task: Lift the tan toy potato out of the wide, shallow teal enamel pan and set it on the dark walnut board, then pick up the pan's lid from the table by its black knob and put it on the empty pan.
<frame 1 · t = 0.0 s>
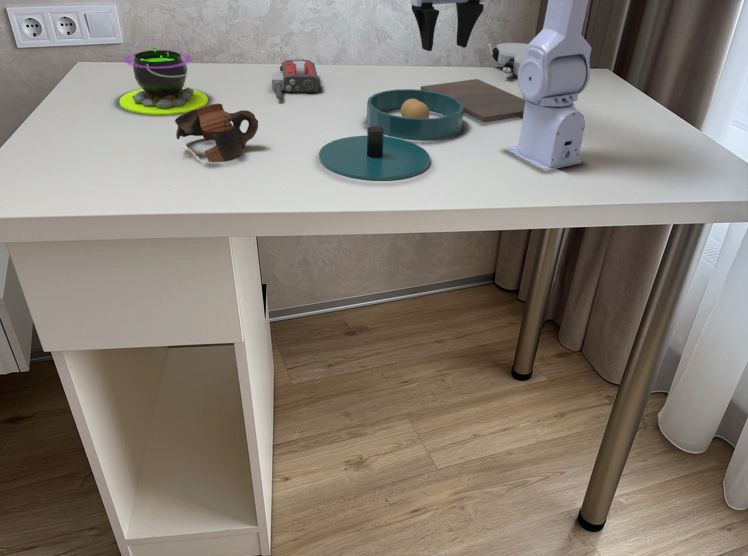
hand: (444, 47, 124), 10 cm above the table, tool pointing down, fingers open, 7 cm apart
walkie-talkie: (295, 90, 133), on the table
toy cauldron: (164, 102, 123), on the table
lid: (374, 158, 105), point 1 cm above the table
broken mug: (220, 154, 105), on the table
potato: (414, 124, 119), resting on pan
pan: (414, 126, 120), on the table
board: (479, 103, 132), on the table
robot toy: (519, 73, 152), on the table
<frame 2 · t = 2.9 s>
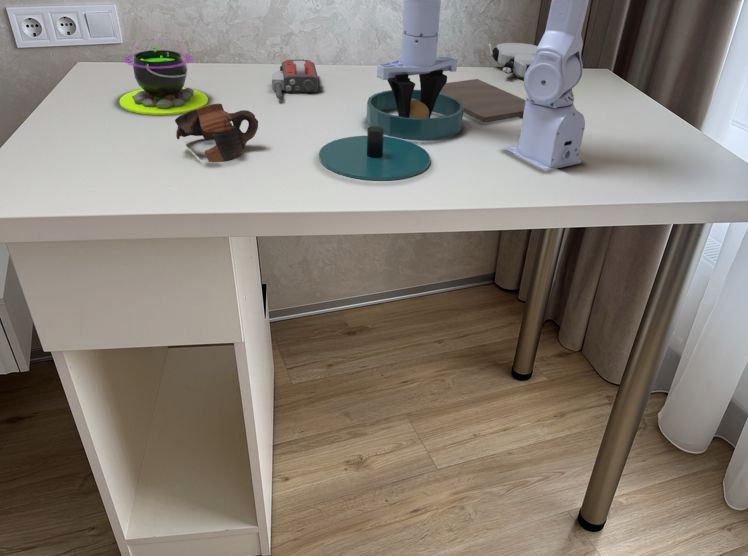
hand: (414, 118, 119), 1 cm above the table, tool pointing down, fingers closed on potato, 4 cm apart
potato: (414, 124, 119), resting on pan, touching gripper
everything else where it was.
when the fingers open (2 cm above the table, at t = 7.6 s): potato stays where it is, resting on board.
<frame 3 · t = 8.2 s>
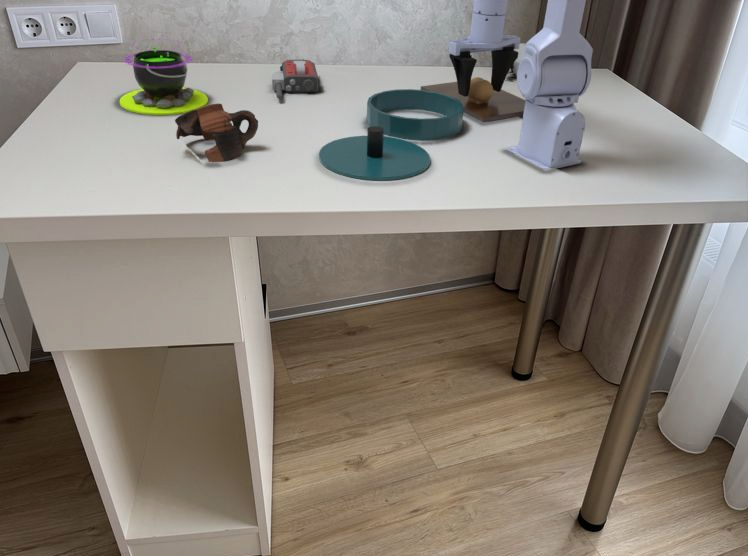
hand: (479, 92, 128), 3 cm above the table, tool pointing down, fingers open, 7 cm apart
potato: (478, 100, 129), point 1 cm above the table, touching board
everything else where it was.
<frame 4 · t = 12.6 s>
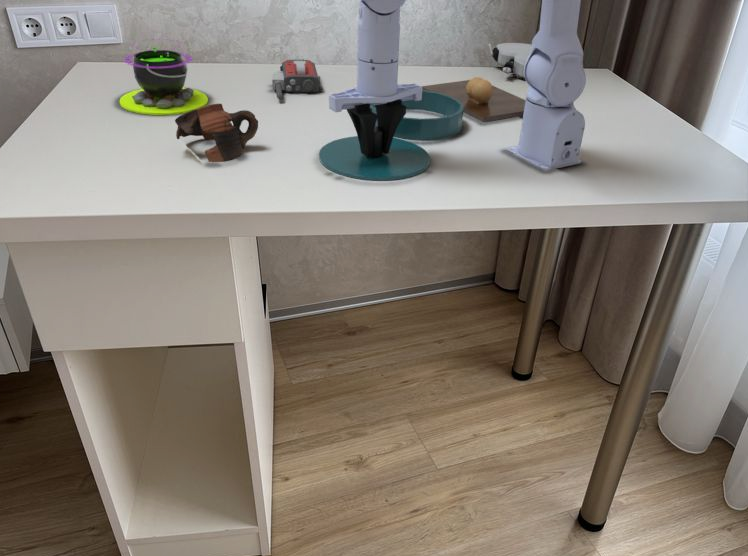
hand: (374, 153, 105), 1 cm above the table, tool pointing down, fingers closed on lid, 2 cm apart
lid: (374, 158, 105), point 1 cm above the table, touching gripper
everything else where it was.
when the fingers open (5 cm above the table, at t = 16.6 s): lid stays where it is, resting on pan.
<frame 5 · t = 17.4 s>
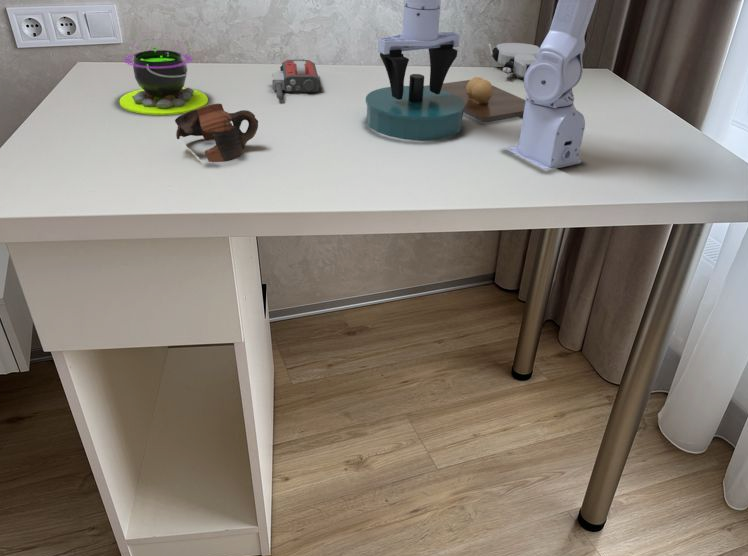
hand: (416, 95, 116), 5 cm above the table, tool pointing down, fingers open, 7 cm apart
lid: (415, 103, 117), point 4 cm above the table, touching pan
everything else where it was.
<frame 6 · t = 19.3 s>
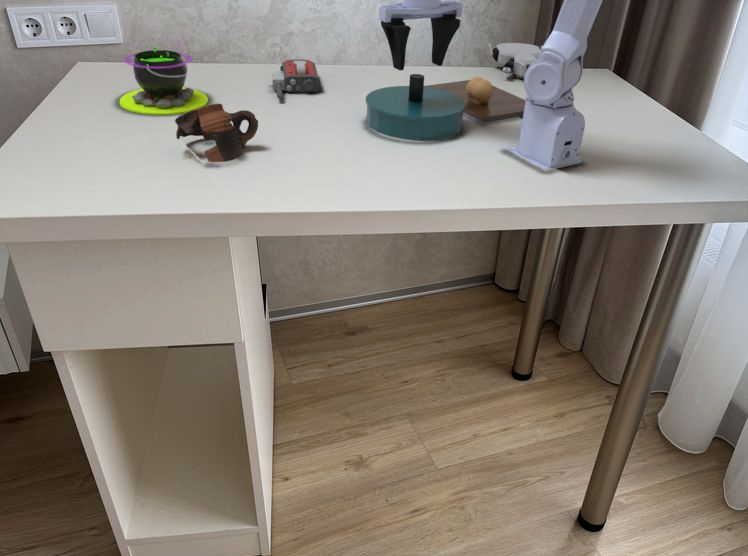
hand: (418, 66, 114), 10 cm above the table, tool pointing down, fingers open, 7 cm apart
nothing on the table moved.
at the end: potato inside the target area on the board (2.8 cm from its centre), point 1.2 cm above the board's base; lid 0.0 cm off-centre on the pan, point 3.9 cm above the pan's base; lid tilted 0° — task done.
